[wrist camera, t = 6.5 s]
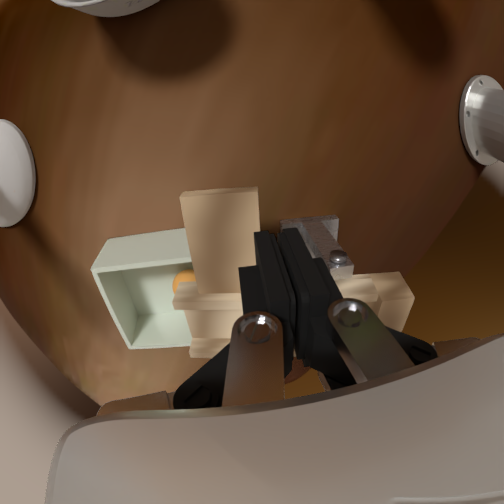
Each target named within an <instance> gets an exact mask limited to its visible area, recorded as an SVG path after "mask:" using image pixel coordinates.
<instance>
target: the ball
mask: <svg viewBox="0 0 504 504" xmlns="http://www.w3.org/2000/svg"><path fill="white" fill-rule="evenodd" d="M191 281H196V279H195V274H194V270H192V269H187V270H183V271H181V272H179V273H178V274H177V275H176V276H175V278H174V280H173V284H172V288H173V292H174V294H175V292H176V290H177V287H178V284H179V282H191Z"/></svg>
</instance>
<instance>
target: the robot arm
mask: <svg viewBox="0 0 504 504" xmlns="http://www.w3.org/2000/svg"><path fill="white" fill-rule="evenodd" d="M459 119H460V130H461V135H462V139H463V142H464V145H465V148H466V150H467V151H468V153H469V155H470V156H471V157H472V158H473V159H474V160H475V161H477V162H478V163H481V164H483V165H492V164H494V163H496V162H497V161H498V160H500V161H502V162H504V90H503V89H502V88H501V86H500V85H499V84H498V83H497V81H496V80H494V79H493V78H491V77H489V76H485V75H477V76H474V77H473V78H471V79H470V80H469V81H468V83H467V84H466V86H465V88H464V91H463V94H462V97H461V102H460V111H459ZM277 239H278V244H277V241H276V238H275V236H274V234H269V232H268V231H259V232H254V245H255V257H256V265H254V266H245V267H238V271H239V281H240V290H241V299H242V308H243V315H242V316H241V317H239V318H238V319H237V320H236V321H235V323H234V325H233V327H232V333H231V340H230V343H229V344H227V345H226V346H225V347H224V348H223V349H222V350H221V351H220V352H218V353H217V354H216V355H215V356H214V357H213V358H212V359H211V360H209V361H208V362H207V363H206V364H205V365H204V366H203V367H201V368H200V369H199V370H198V371H197V372H196V373H194V374H193V375H192V376H191V377H190V378H189V379H187V380H186V381H185V382H184V383H183V384H182V385H180V387H179V388H178V389H177V390H176V391H175V392H171V393H167V392H166V391H161V392H157V393H152V394H147V395H142V396H137V397H132V398H126V399H120V400H114V401H110V402H108V403H105V404H104V405H103V406H102V407H101V408H100V410H99V411H98V413H97V416H95V417H92V418H89V419H86V420H84V421H81V422H79V423H77V424H75V425H73V426H71V427H70V428H69V429H68V430H66V431H65V433H64V434H63V435H62V437H61V438H60V440H59V442H58V444H57V447H56V449H55V452H54V455H53V459H52V462H51V466H50V471H49V476H48V482H47V489H46V497H45V504H504V333H503V334H497V335H494V336H490V337H487V338H484V339H478V338H473V337H472V338H465V339H456V340H449V341H440V342H433V344H432V345H430V344H428V343H427V342H425V341H422V340H420V339H417V338H415V337H412V336H410V335H407V334H404V333H402V332H399V331H397V330H394V329H392V328H389V327H387V326H385V325H384V324H383V323H382V322H381V320H380V319H379V318H378V316H377V315H376V314H375V313H374V311H373V310H372V309H371V308H370V307H369V306H368V305H367V304H366V303H365V302H363V301H361V300H358V299H355V298H343V296H342V294H341V292H340V290H339V288H338V286H337V285H336V283H335V281H334V279H333V277H332V275H331V273H330V271H329V269H328V268H327V266H326V264H325V262H324V260H323V259H322V258H321V257H318V258H312V256H311V254H310V252H309V250H308V248H307V246H306V244H305V242H304V240H303V238H302V236H301V234H300V232H299V230H298V228H297V227H295V228H286V229H282V233H278V234H277ZM294 350H295V354H296V357H297V359H298V360H299V359H302V360H303V364H304V367H307V366H310V367H311V368H313V369H315V370H317V371H318V376H319V379H320V381H321V383H322V385H323V387H324V389H325V391H326V392H322V393H317V394H312V395H307V396H301V397H296V398H290V399H284V379H285V377H286V376H287V375H288V374H289V373H290V371H291V370H292V361H293V357H294Z"/></svg>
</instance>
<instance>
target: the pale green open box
mask: <svg viewBox="0 0 504 504" xmlns="http://www.w3.org/2000/svg"><path fill="white" fill-rule="evenodd" d="M187 269H192V270H194V269H193V265H192V260H191V255H190V250H189V245H188V240H187V235H186V230H185V228H181V229H174V230H166V231H159V232H152V233H145V234H138V235H131V236H124V237H118V238H111V239H108V240H107V241H106V243H105V245H104V246H103V248H102V250H101V251H100V253H99V255H98V257H97V258H96V260H95V262H94V263H93V265H92V267H91V272H92V274H93V276H94V279H95V281H96V283H97V286H98V288H99V290H100V292H101V295H102V297H103V299H104V301H105V303H106V305H107V308H108V310H109V312H110V314H111V316H112V318H113V320H114V322H115V324H116V326H117V328H118V330H119V332H120V333H121V335H122V337H123V339H124V341H125V343H126V345H127V346H128V348H129V349H147V348H165V347H180V346H191V341H192V336H191V333H190V329H189V326H188V323H187V320H186V316H185V313H184V310H174V307H173V304H172V301H173V298H174V295H175V294H174V292H173V288H172V284H173V280H174V278H175V276H176V275H177V274H178V273H179V272H181V271H183V270H187Z"/></svg>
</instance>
